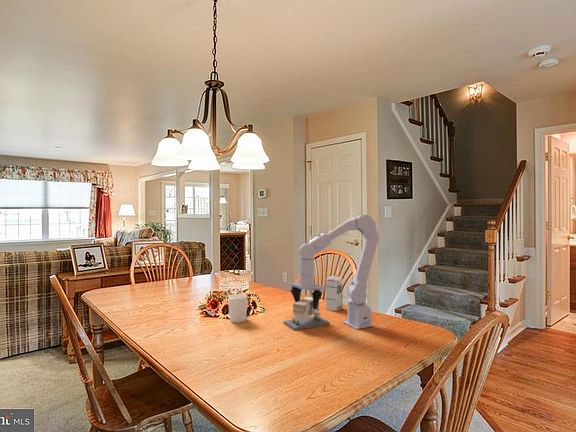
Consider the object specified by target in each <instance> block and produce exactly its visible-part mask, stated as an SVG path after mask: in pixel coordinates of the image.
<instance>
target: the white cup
mask: <svg viewBox="0 0 576 432" xmlns="http://www.w3.org/2000/svg"><path fill="white" fill-rule="evenodd" d="M227 301H228V314H229V321H230V322H231V323H242V322H246V321H247V314H248V313H247V311H248V295H247V294H244V293H234V294H229V295H228V296H227Z"/></svg>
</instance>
